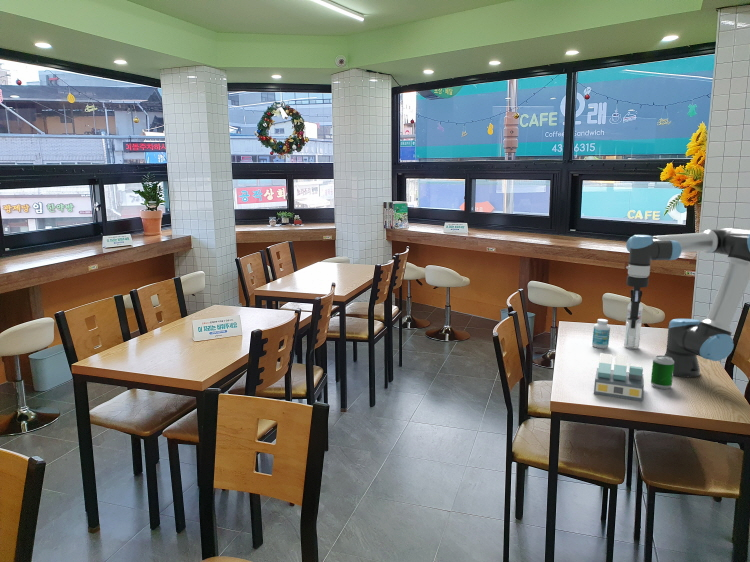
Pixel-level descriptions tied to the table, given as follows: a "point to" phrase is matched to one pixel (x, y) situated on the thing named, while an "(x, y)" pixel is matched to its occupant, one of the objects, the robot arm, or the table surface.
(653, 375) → the soda can
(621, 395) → the switch unit
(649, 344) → the table surface
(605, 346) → the pill bottle
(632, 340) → the water bottle
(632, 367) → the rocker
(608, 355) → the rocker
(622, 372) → the rocker
